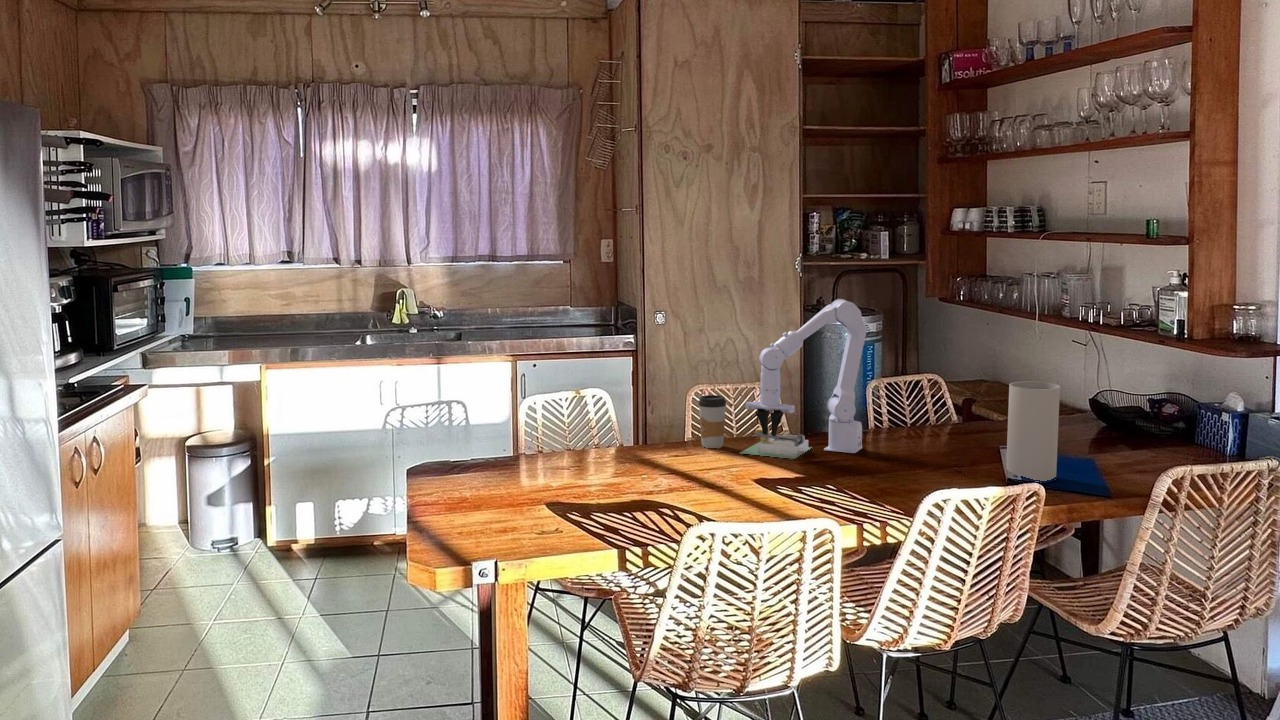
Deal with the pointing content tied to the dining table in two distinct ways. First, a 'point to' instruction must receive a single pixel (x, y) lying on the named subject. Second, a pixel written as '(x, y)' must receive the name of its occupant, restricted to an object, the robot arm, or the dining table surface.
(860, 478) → the dining table surface
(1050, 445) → the cylinder vase
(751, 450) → the pcb mat
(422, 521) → the dining table surface
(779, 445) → the heatsink block
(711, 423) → the coffee cup
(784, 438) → the strap
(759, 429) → the latch
